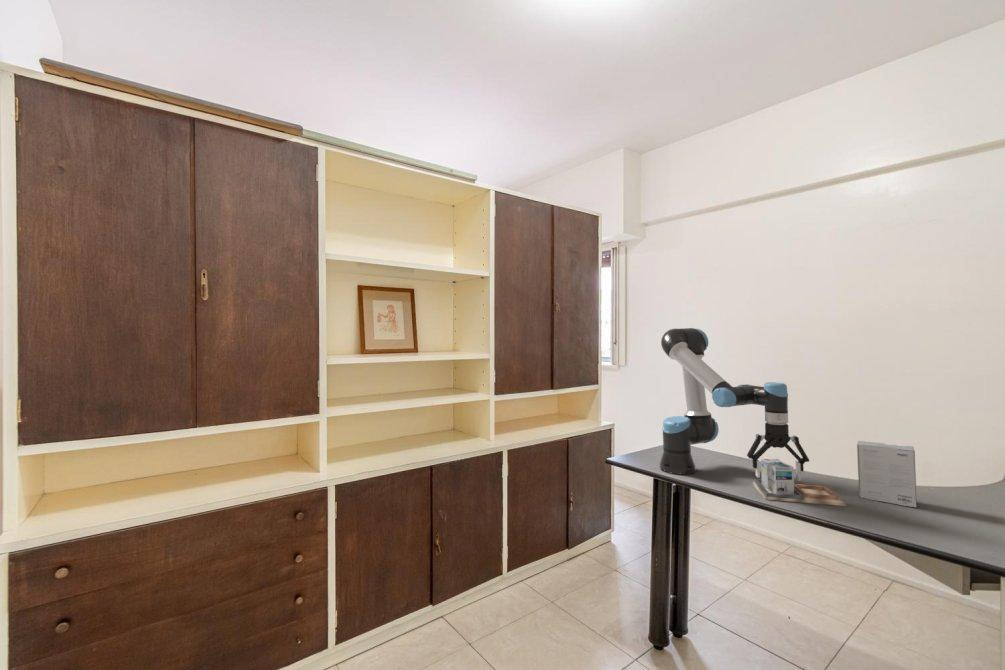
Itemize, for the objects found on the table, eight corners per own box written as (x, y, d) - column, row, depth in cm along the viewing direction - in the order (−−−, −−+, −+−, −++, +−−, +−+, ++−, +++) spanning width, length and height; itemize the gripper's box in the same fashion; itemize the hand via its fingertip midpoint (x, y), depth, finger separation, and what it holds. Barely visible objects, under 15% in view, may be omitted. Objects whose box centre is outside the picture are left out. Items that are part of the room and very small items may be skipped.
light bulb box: (795, 495, 155) (794, 466, 155) (776, 495, 156) (775, 466, 156) (778, 485, 166) (777, 458, 166) (760, 485, 166) (760, 458, 166)
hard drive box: (916, 501, 150) (914, 446, 150) (917, 508, 144) (915, 451, 144) (859, 491, 160) (858, 439, 160) (858, 497, 155) (856, 443, 155)
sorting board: (765, 499, 155) (765, 493, 155) (753, 484, 170) (753, 478, 170) (845, 506, 148) (845, 499, 148) (825, 489, 163) (825, 484, 163)
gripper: (742, 423, 161) (743, 478, 161) (818, 426, 153) (820, 484, 153) (737, 419, 168) (739, 472, 168) (810, 422, 161) (811, 477, 161)
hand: (777, 478), depth 161 cm, fingers open, 13 cm apart
